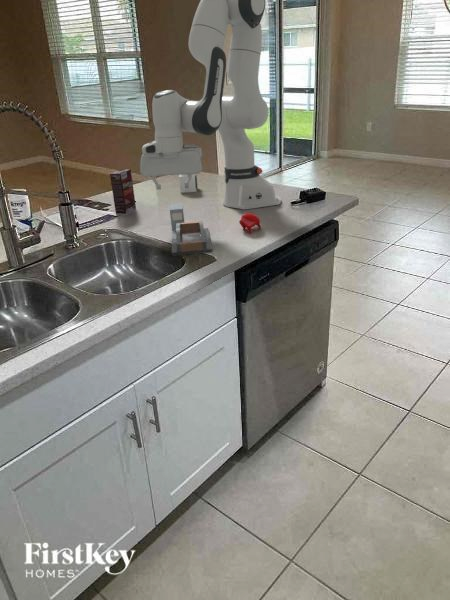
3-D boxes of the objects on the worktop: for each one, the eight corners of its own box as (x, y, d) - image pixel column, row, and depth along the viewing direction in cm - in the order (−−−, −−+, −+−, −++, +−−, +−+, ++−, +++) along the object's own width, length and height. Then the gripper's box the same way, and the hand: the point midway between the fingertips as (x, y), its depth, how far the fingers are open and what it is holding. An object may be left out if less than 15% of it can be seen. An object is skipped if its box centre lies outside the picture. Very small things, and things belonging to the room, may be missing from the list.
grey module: (184, 222, 168) (182, 203, 164) (184, 228, 161) (182, 208, 158) (172, 223, 167) (170, 204, 164) (172, 229, 161) (169, 210, 158)
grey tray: (208, 230, 158) (207, 220, 156) (212, 252, 140) (211, 241, 138) (172, 233, 157) (171, 223, 156) (172, 255, 139) (170, 244, 138)
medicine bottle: (196, 192, 205) (194, 164, 199) (180, 193, 205) (177, 165, 200) (197, 188, 211) (195, 160, 206) (181, 189, 211) (179, 161, 206)
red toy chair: (246, 226, 150) (260, 214, 150) (235, 216, 153) (248, 204, 153) (252, 240, 156) (266, 228, 157) (242, 230, 160) (255, 219, 160)
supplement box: (127, 216, 178) (120, 173, 171) (115, 215, 180) (108, 173, 173) (137, 209, 186) (131, 168, 178) (126, 209, 187) (119, 168, 180)
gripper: (201, 142, 155) (203, 184, 161) (138, 145, 154) (143, 188, 160) (201, 145, 150) (204, 188, 156) (137, 148, 148) (142, 192, 154)
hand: (172, 188), depth 158 cm, fingers open, 8 cm apart
